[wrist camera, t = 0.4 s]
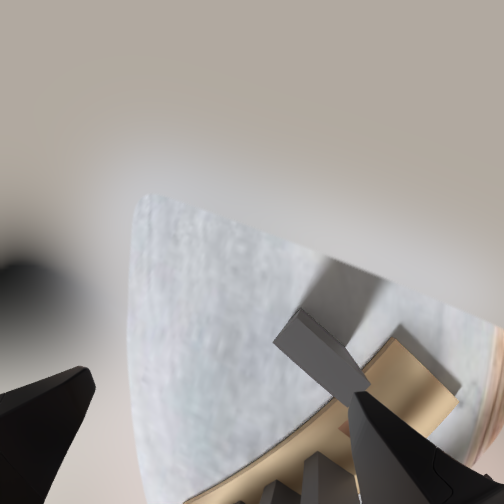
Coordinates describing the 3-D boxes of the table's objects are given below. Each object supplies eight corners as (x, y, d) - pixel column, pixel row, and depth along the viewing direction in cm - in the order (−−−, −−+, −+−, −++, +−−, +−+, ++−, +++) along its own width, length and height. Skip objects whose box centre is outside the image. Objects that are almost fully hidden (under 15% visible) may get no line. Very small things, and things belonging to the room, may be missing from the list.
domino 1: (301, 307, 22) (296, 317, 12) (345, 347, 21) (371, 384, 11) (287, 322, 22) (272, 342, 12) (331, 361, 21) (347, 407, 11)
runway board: (453, 397, 18) (459, 401, 16) (246, 544, 18) (243, 550, 17) (391, 336, 20) (395, 338, 19) (182, 503, 21) (178, 508, 19)
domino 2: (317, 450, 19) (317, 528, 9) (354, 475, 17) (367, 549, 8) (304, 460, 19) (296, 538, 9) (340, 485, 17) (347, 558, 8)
